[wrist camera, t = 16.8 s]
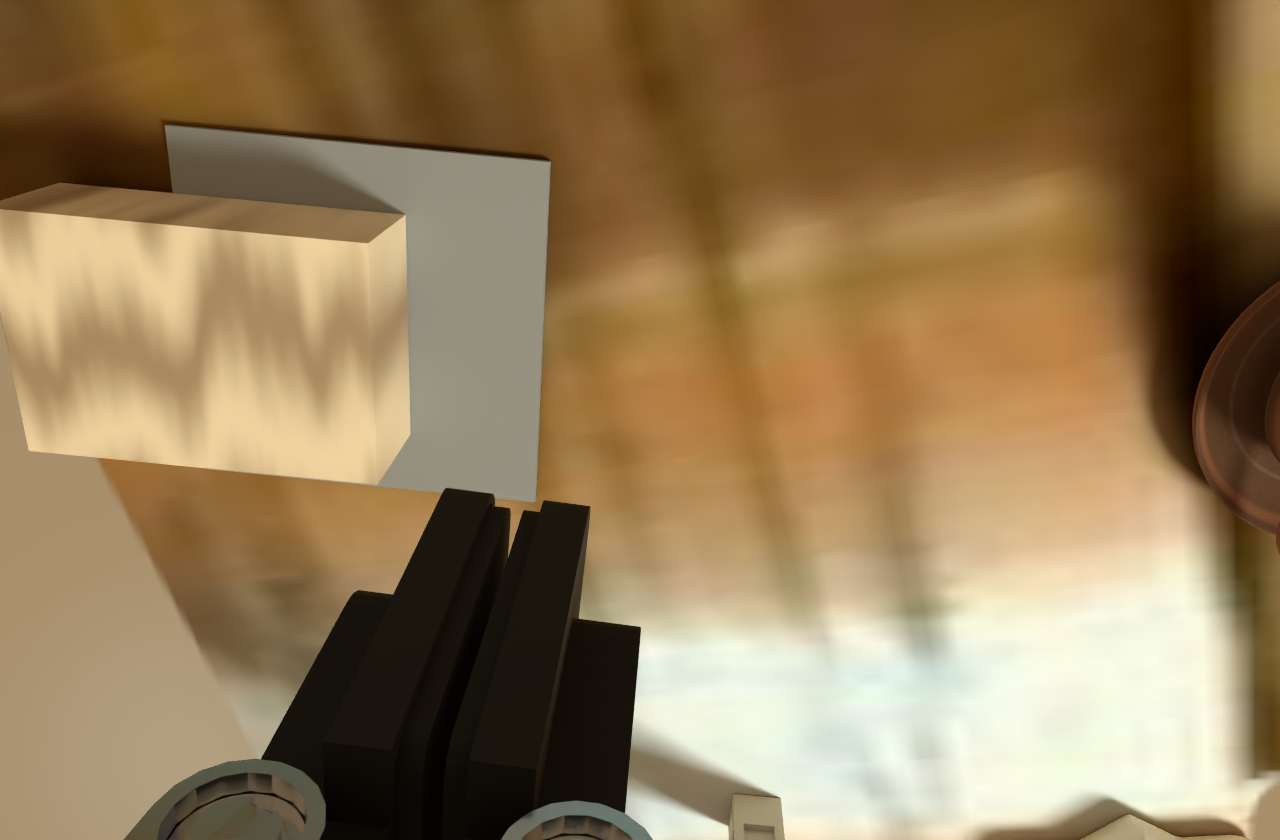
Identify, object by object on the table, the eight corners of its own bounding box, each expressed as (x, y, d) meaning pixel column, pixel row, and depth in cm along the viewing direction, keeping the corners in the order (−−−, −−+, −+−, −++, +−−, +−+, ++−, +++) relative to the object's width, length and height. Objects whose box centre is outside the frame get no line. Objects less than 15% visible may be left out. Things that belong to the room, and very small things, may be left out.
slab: (406, 214, 35) (60, 182, 36) (368, 243, 31) (-22, 207, 32) (411, 433, 39) (97, 403, 39) (377, 484, 35) (28, 450, 35)
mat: (169, 124, 35) (164, 125, 35) (550, 160, 35) (549, 162, 34) (208, 465, 41) (205, 468, 40) (535, 498, 40) (535, 502, 40)
